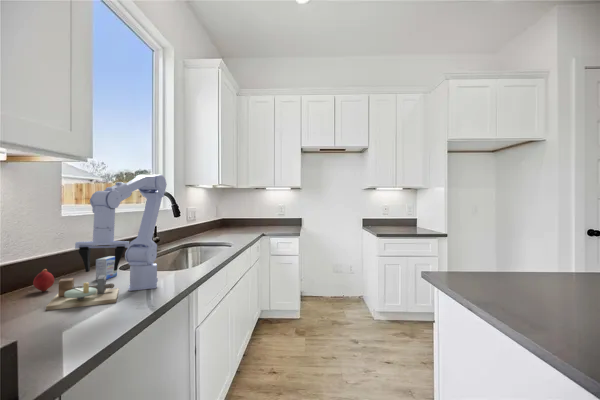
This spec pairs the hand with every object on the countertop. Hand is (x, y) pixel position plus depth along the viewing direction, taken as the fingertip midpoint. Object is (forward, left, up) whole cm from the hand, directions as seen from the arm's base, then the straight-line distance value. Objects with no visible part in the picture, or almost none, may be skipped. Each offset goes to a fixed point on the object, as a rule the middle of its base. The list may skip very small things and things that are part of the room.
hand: (101, 270), depth 100 cm
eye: (+1, -10, -9) cm, 14 cm away
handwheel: (+6, -3, -9) cm, 11 cm away
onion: (+20, -24, -11) cm, 33 cm away
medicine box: (+2, -39, -11) cm, 41 cm away
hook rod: (+5, -10, -9) cm, 15 cm away
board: (+5, -7, -11) cm, 14 cm away
